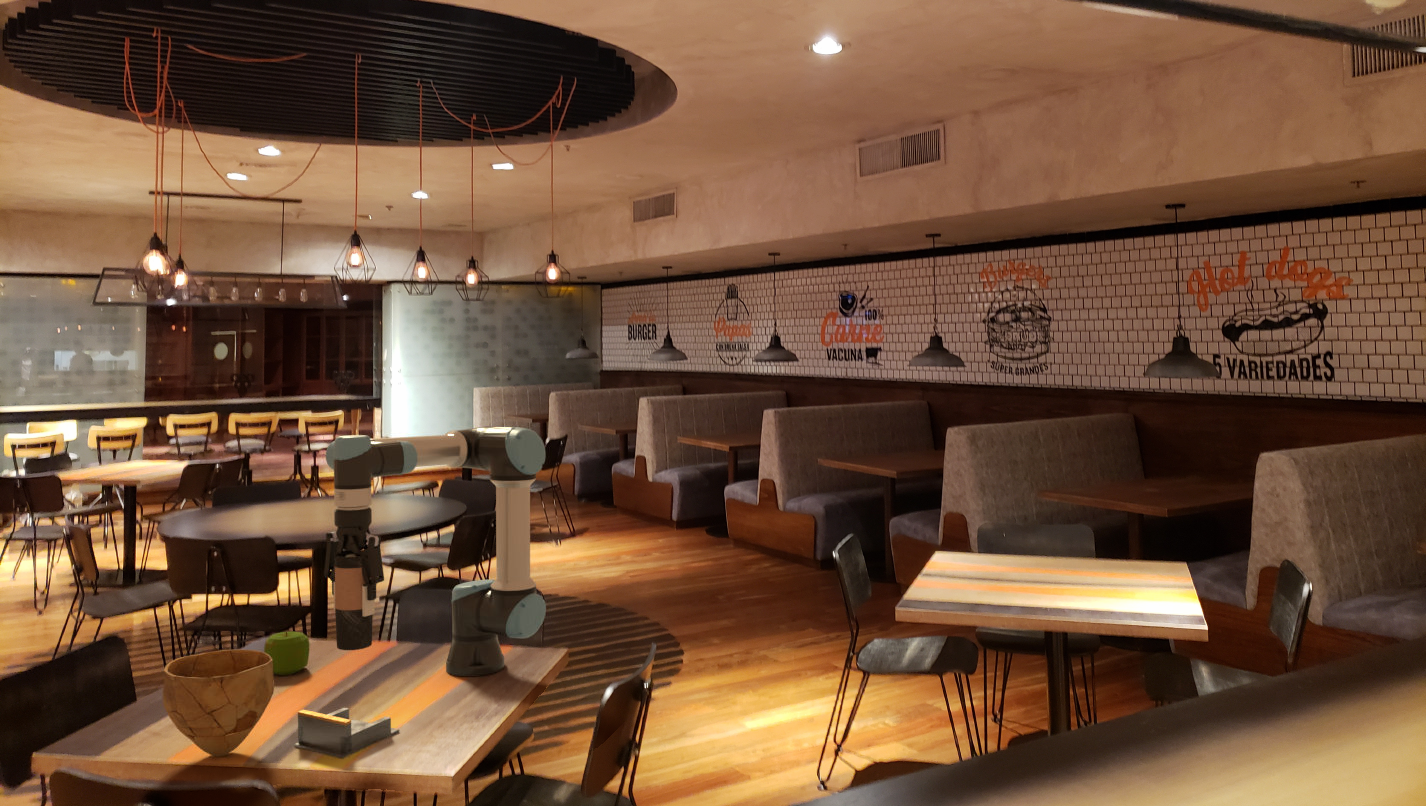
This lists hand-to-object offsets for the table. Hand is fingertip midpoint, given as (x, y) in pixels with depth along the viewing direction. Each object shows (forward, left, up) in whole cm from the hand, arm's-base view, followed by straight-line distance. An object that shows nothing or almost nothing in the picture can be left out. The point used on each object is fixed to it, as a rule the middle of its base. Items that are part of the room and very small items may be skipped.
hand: (354, 612), depth 210 cm
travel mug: (0, 0, -7) cm, 7 cm away
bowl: (+19, -18, -28) cm, 38 cm away
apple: (-26, -52, -28) cm, 65 cm away
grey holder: (+1, -1, -28) cm, 28 cm away
